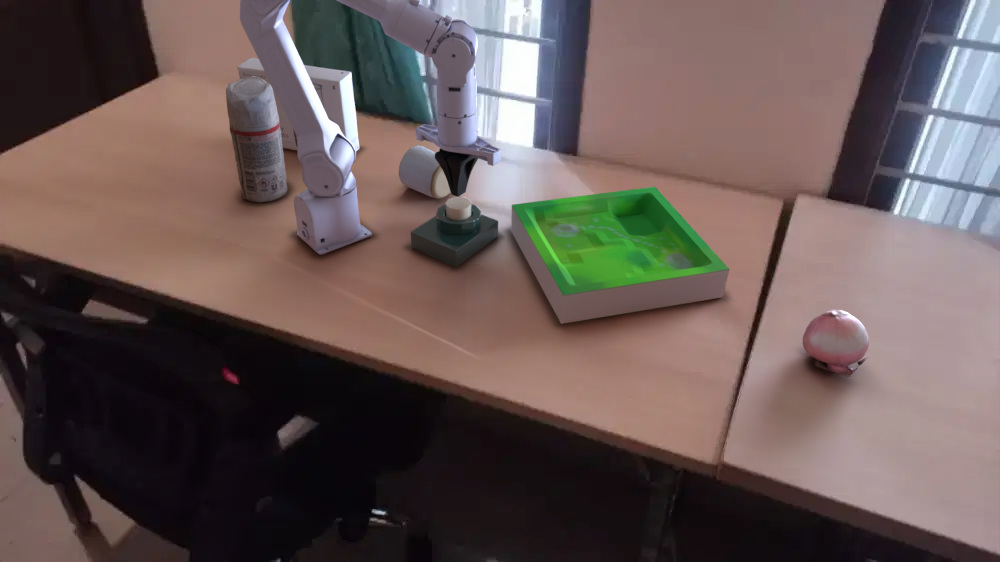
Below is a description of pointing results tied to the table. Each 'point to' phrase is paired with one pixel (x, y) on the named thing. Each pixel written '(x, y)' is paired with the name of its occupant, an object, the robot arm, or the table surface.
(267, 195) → the spray can
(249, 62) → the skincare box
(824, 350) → the onion
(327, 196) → the robot arm
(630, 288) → the tray
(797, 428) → the table surface
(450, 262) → the dark green button base
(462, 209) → the white push button
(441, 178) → the ceramic mug
